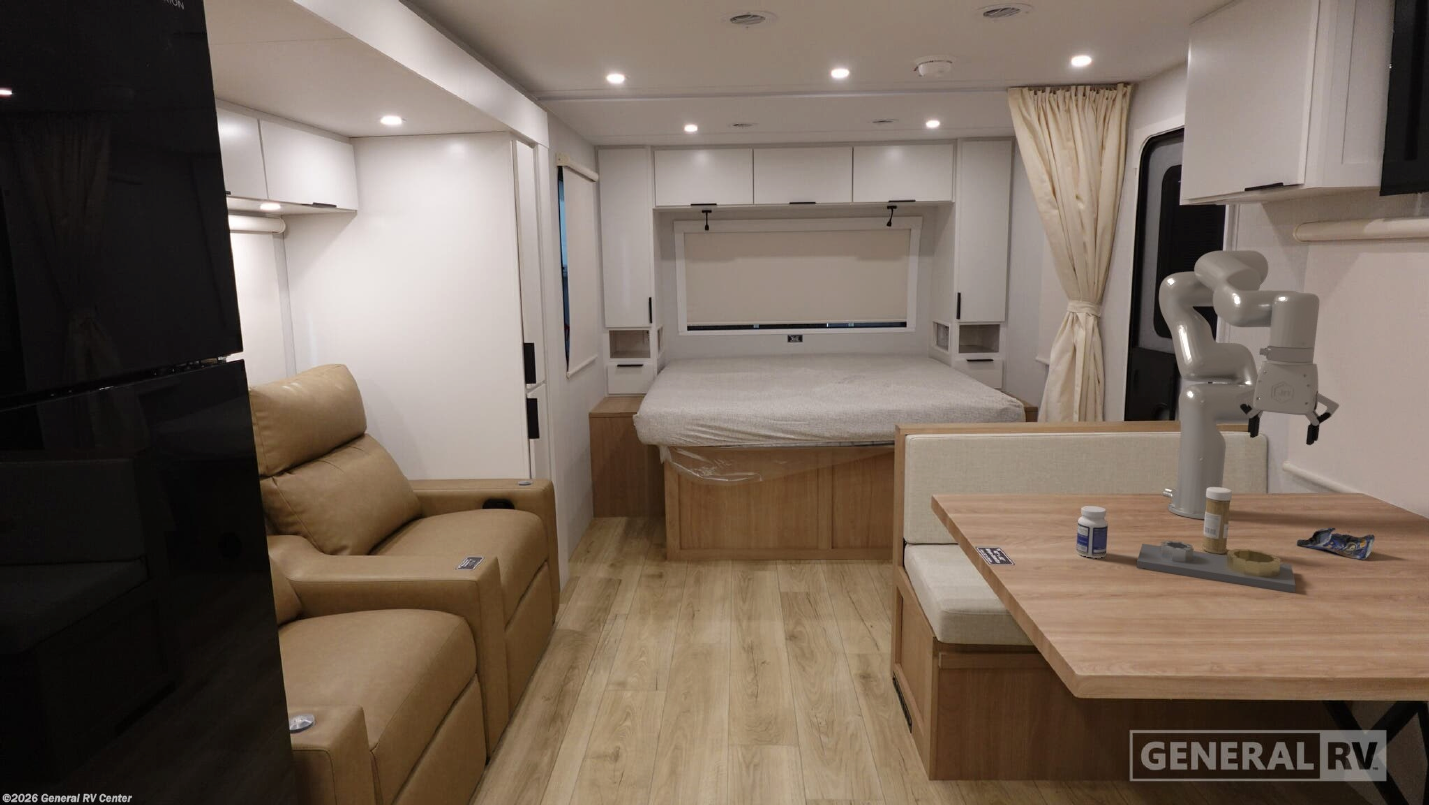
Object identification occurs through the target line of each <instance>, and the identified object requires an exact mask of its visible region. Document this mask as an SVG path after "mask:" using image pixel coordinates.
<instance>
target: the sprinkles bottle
mask: <svg viewBox="0 0 1429 805" xmlns="http://www.w3.org/2000/svg"><path fill="white" fill-rule="evenodd" d="M1232 495H1233V493H1232V490H1231V489H1229V488H1226V487H1222V488H1221V487H1209V488H1207V490H1206V497H1207V501H1206V510H1205V519H1203V520H1204V522H1203V533H1202V534H1203V541H1202V546H1201V549H1202V550H1203V551H1204V552H1205V553H1211V554H1218V555H1224V554H1226V553H1227V552H1228V550H1227V544H1228V543H1227V542H1228V535H1229V522H1230V520H1229V519H1230V505H1231V504H1230V503H1231V500H1232V497H1233V496H1232Z"/></svg>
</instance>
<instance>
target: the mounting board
mask: <svg viewBox="0 0 1429 805" xmlns="http://www.w3.org/2000/svg"><path fill="white" fill-rule="evenodd" d="M1160 546H1161V545H1156V544H1155V545H1154V544H1149V543H1141V547H1140V550H1139V554H1138V558H1137V561H1136V568H1137V569H1141V568H1146V569H1145V570H1147V569H1149V570H1148V571H1153V572H1154V571H1155V572H1159V571H1161V573H1167V574H1173V575H1174V574H1175V575H1178V576H1184V577H1185V576H1186V577H1191V578H1198V579H1205V580H1209V581H1210V580H1212V581H1216V582H1223V583H1230V584H1235V585H1241V586H1248V587H1256V588H1261V589H1266V590H1267V589H1268V590H1272V591H1273V590H1274V591H1278V592H1279V591H1281V592H1286V593H1292V594H1295V592H1296V581H1295V575H1294V572H1293V567H1292V564H1286V563H1280V569H1279V575H1277V576H1273V577H1257V576H1251V575H1245V574H1242V573H1239V572H1236V571H1233V570H1231V569H1230V568H1228V567H1227V566H1226V565H1227V555H1226V554H1225V555H1224V554H1214V553H1210V552H1205V551H1204V552H1203V551H1197V550H1193V561H1189V562H1176V561H1170V560H1167V559H1164V558H1162V557H1161V555H1160Z"/></svg>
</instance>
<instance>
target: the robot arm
mask: <svg viewBox="0 0 1429 805" xmlns="http://www.w3.org/2000/svg"><path fill="white" fill-rule="evenodd" d="M1268 263H1269V262H1268V260H1267V258H1266V256H1265V255H1264V254H1262V253H1261V252H1259V251H1256V250H1250V249H1249V250H1241V249H1239V250H1214V251H1210V252H1207V253H1204V254H1203V255H1202V256H1200V257H1199V258H1198V260H1196V262H1195V265H1194V268H1193V270H1194V271H1184V272H1183V271H1182V272H1181V271H1180V272H1175V273H1172V274H1170V275H1167V276H1166V277H1165V278H1164V279H1163V280H1162V281H1161V284H1160V286H1159V293H1158V302H1159V308H1160V312H1161V315H1162V316H1163V318H1164V321H1165V323H1166V324H1167V327H1168V329H1169V331H1170V334H1171V337H1172V343H1173V349H1174V353H1175V358H1176V363H1177V367H1178V371H1179V373H1180V375H1181V378H1182V379H1184V380H1185V381H1188V382H1193V383H1195V384H1191V385H1188V386H1186V387H1184V388H1183V389H1182V390H1181V392H1180V393H1179V397H1178V410H1179V420H1180V439H1179V452H1178V453H1179V454H1178V464H1177V465H1178V466H1177V476H1176V478H1177V479H1176V489H1174V488H1170V487H1166V488H1165V489H1164V491H1163V492H1162V497H1165V498H1170V499H1171V501H1170V502H1169V503H1168V504H1167V510H1168V511H1169V512H1171V513H1172V514H1175V515H1179V516H1182V517H1185V518H1191V519H1199V520H1205V510H1206V501H1207V497H1206V490H1207V488H1209V487H1221V488H1223V483H1224V482H1223V481H1224V474H1225V473H1224V471H1225V462H1226V461H1225V458H1226V450H1227V448H1226V447H1227V446H1226V445H1227V443H1226V440H1225V439H1226V438H1225V437H1224V435H1223V434H1222V433H1221V431H1220V430H1219V429H1218V427H1217V425H1225V424H1226V425H1227V424H1231V425H1232V424H1233V425H1234V424H1238V425H1241V424H1242V425H1243V424H1245V425H1246V424H1247V425H1248V426H1247V433H1249V438H1251V439H1254V438H1256V437H1258V436H1259V433H1260V424H1261V417H1262V416H1263V414H1264V412H1267V413H1275V414H1276V413H1277V414H1288V415H1297V416H1305V417H1306V418H1307V420H1308V421H1309V422H1310V423H1309V424H1308V425H1307V433H1306V442H1305V443H1306V445H1307V446H1312V445H1313V444H1315V442H1317V441H1318V440H1319V433H1320V425H1321V424H1322V423H1324V422H1325V421H1327V420H1328V419H1330V418H1332V417H1333V415H1334V413H1335V412H1336V411H1337V410H1339V407H1340V404H1339V403H1338V402H1336V401H1334V400H1332V399H1330V398H1328V397H1326V396H1325V395H1323V394H1321V393H1319V372H1318V364H1317V363H1314V356H1315V348H1316V341H1317V340H1316V338H1317V330H1318V329H1317V328H1318V322H1319V321H1318V319H1319V313H1320V312H1319V310H1320V298H1319V296H1318V295H1317V294H1315V293H1309V292H1298V291H1294V290H1270V289H1269V290H1260V288H1261V286H1262V284H1263V283H1264V282H1265V280H1266V279H1267V277H1268V274H1269V264H1268ZM1194 307H1213V309H1214V311H1215V314H1216V315H1217V316H1218V318H1219V319H1220V318H1221V320H1223V321H1224V322H1225V323H1227V324H1228V325H1230V326H1232V327H1237V328H1270V330H1269V337H1268V338H1269V339H1268V345H1267V347H1264V348H1263V347H1261V348H1259V355H1261V356H1265V357H1266V358H1265V359H1266V360H1263V361H1262V362H1261V363H1260V367H1259V369H1258V368H1257V367H1256V363H1255V358H1254V355H1253V353H1252V352H1251V351H1250V349H1249V348H1248V347H1247V346H1245V345H1243V344H1241V343H1235V342H1234V343H1233V342H1217V341H1215V338H1214V337H1213V333H1212V328H1211V325H1210V324H1209V322H1208V321H1207V320H1206V318H1205V317H1204V316H1202V314H1201V313H1199V312H1198V311H1197V310H1196V309H1194ZM1257 369H1258V370H1259V371H1258V370H1257ZM1319 403H1320V404H1322V405H1324V406H1325V407H1326V410H1325V411H1324V412H1323V413H1322V414H1320V415H1319V414H1318V413H1317V409H1318V408H1317V407H1318V404H1319Z"/></svg>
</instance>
